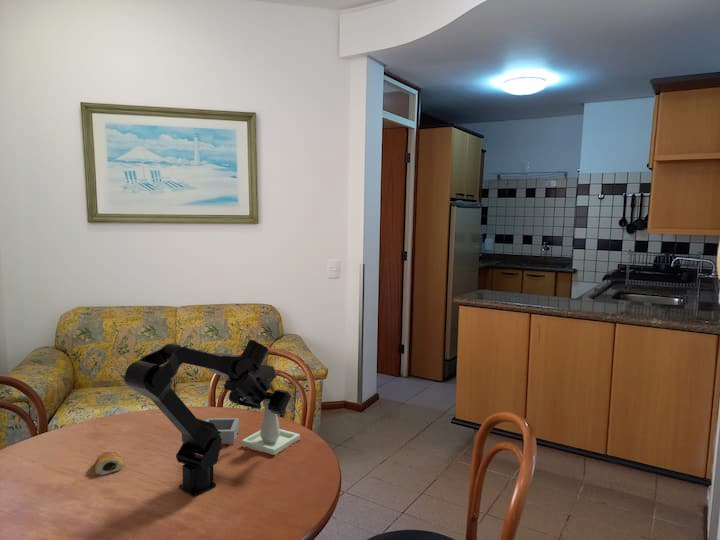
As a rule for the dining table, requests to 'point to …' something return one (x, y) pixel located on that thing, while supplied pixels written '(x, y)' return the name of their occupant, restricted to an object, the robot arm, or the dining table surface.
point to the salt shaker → (269, 426)
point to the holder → (226, 428)
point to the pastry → (108, 463)
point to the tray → (282, 442)
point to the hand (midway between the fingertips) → (272, 410)
